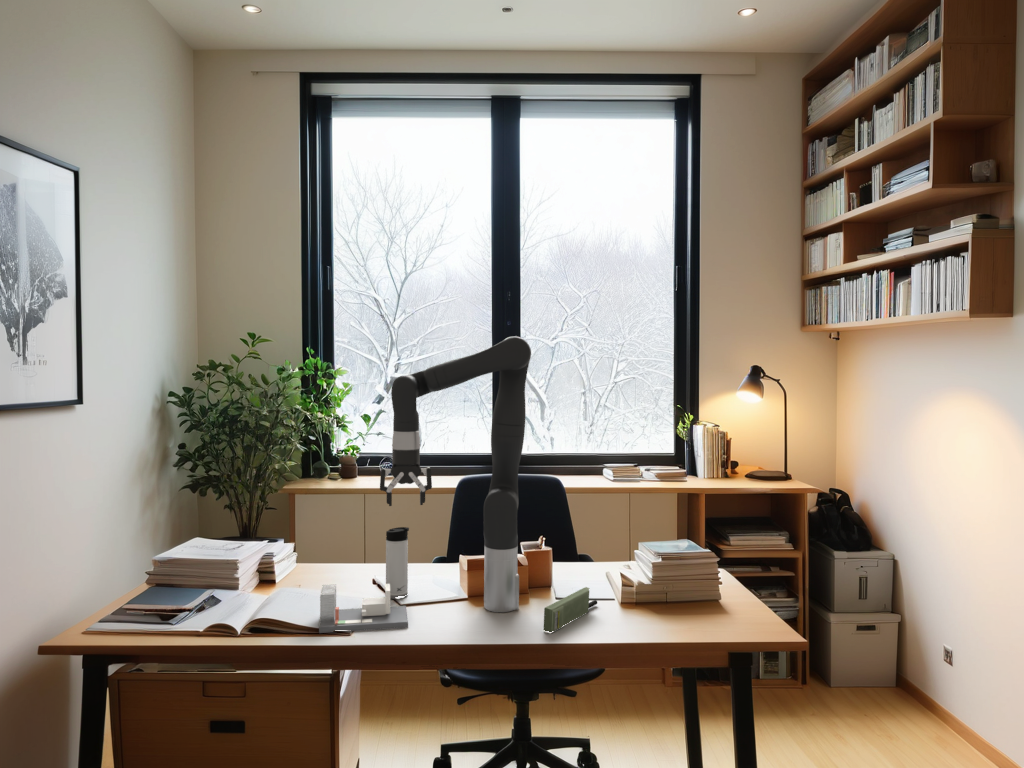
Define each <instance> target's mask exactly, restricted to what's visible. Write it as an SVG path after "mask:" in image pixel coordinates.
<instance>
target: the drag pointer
mask: <svg viewBox="0 0 1024 768" xmlns="http://www.w3.org/2000/svg"><path fill="white" fill-rule="evenodd" d="M339 609H340V607H339V606H336V608H335V624H338V621H339Z"/></svg>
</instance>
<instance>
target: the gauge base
mask: <svg viewBox="0 0 1024 768" xmlns="http://www.w3.org/2000/svg"><path fill="white" fill-rule="evenodd" d="M406 628H407V629H408V628H409V619H408V610H407V605H398V606H397V605H396V606H390V614H386V615H377V616H362V607H361V608H360V607H359V608H343V609H342V608H341V609H340V608H339V621H338V624H335V620H334V621H330V622H320V621H319V625H318V633H319V634H323V633H324V634H325V633H326V634H327V633H328V634H329V633H334V632H333V631H335V630H351V631H350V632H359V631H374V630H375V631H377V630H391V629H406Z"/></svg>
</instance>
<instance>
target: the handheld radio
mask: <svg viewBox="0 0 1024 768" xmlns="http://www.w3.org/2000/svg"><path fill="white" fill-rule="evenodd" d="M597 604H598V600H597V599H593V600H592V601H590V587H587V586H585V587H582V588H581V589H579V590H577V591H575V592H573V593H571V594H569V595H566V596H564V597H563V598H561V599H558V600H557V601H555V602H553V603H551V604H549V605H546V607H544V611H543V613H544V614H543V630H545V631H549V632H552V631H555V630H557V629H559V628H560V629H562V628H563V627H562V626H563V625H565V624H567V623H569V622H570V621H572V620H574V619H576V618H578V617H580V616H581V617H583V616H584V615H583V614H585V613H587V612H588V613H589V609H590V608H592V607H594V606H596V605H597ZM588 613H587V614H588ZM582 615H583V616H582ZM585 615H586V614H585ZM581 617H580V618H581ZM578 619H579V618H578ZM576 620H577V619H576ZM574 621H575V620H574ZM569 624H570V623H569ZM567 625H568V624H567ZM561 627H562V628H561ZM560 629H559V630H560ZM557 631H558V630H557ZM555 632H556V631H555Z"/></svg>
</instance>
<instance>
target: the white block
mask: <svg viewBox="0 0 1024 768" xmlns="http://www.w3.org/2000/svg"><path fill="white" fill-rule="evenodd" d="M384 589H385V590H384V591H385V594H384V595H385V596H384V597H367V598H365V597H364V598H362V599H361V601H362V602H361V608H362V616H377V615H386V614H390V607H391V599H390V584H386V583H385V587H384Z"/></svg>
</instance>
